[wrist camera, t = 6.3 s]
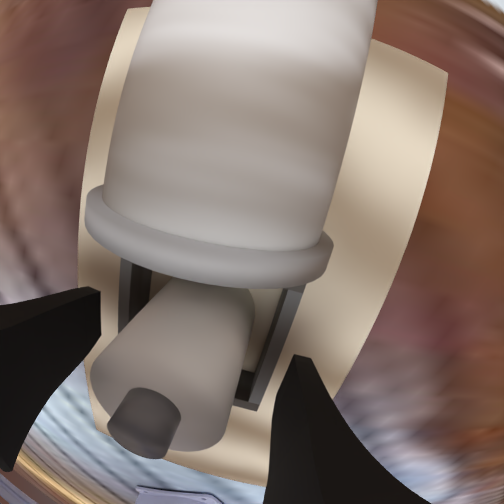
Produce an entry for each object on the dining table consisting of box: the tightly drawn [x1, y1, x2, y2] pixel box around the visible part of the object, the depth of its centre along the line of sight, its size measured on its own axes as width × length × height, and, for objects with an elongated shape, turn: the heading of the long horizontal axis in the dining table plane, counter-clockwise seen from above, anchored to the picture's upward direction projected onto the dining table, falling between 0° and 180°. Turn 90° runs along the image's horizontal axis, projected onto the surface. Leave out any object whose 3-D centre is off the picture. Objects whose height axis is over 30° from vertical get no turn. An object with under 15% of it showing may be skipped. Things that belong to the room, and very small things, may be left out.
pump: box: [90, 277, 255, 459], centre depth 9 cm, size 4×4×7 cm
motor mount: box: [78, 0, 448, 487], centre depth 10 cm, size 27×14×7 cm, turn 166°
